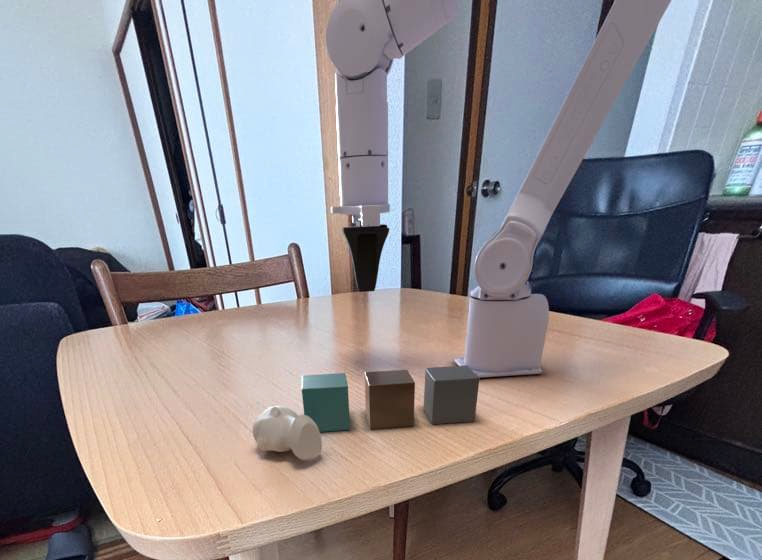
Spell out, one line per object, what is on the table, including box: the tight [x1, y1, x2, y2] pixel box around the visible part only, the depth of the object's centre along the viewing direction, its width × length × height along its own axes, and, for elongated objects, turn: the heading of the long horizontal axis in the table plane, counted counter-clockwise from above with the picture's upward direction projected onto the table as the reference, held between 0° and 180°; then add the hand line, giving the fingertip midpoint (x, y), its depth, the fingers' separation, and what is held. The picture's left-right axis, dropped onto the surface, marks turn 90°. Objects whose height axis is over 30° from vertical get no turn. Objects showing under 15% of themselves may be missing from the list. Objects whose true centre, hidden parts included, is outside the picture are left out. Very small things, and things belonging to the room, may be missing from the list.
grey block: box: [423, 365, 481, 425], centre depth 49 cm, size 4×4×4 cm
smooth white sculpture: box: [252, 405, 323, 461], centre depth 43 cm, size 4×8×5 cm
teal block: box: [301, 372, 351, 433], centre depth 48 cm, size 4×4×4 cm
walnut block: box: [364, 369, 416, 430], centre depth 48 cm, size 4×4×4 cm
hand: (366, 290), depth 62 cm, fingers closed
